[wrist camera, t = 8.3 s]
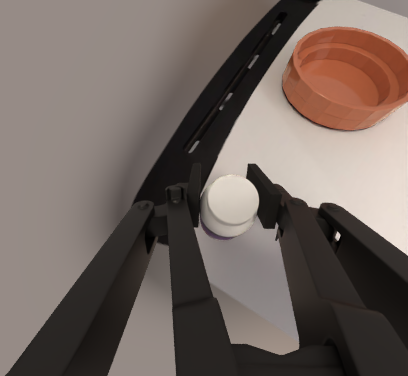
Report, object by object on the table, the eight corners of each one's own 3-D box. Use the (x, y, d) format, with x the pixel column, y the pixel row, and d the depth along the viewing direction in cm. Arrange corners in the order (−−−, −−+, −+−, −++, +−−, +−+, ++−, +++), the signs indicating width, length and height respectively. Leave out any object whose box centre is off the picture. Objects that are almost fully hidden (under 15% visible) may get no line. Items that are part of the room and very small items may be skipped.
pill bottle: (242, 241, 18) (272, 236, 10) (199, 240, 18) (195, 232, 11) (241, 199, 20) (266, 167, 12) (201, 198, 20) (199, 164, 12)
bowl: (267, 109, 28) (278, 84, 24) (296, 45, 33) (309, 16, 29) (379, 148, 25) (414, 128, 21) (392, 73, 31) (422, 44, 27)
